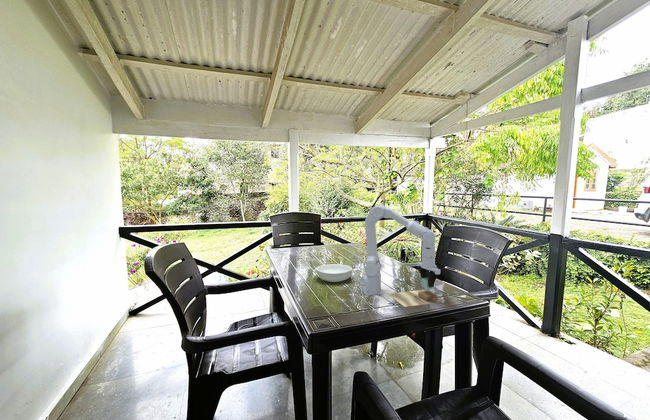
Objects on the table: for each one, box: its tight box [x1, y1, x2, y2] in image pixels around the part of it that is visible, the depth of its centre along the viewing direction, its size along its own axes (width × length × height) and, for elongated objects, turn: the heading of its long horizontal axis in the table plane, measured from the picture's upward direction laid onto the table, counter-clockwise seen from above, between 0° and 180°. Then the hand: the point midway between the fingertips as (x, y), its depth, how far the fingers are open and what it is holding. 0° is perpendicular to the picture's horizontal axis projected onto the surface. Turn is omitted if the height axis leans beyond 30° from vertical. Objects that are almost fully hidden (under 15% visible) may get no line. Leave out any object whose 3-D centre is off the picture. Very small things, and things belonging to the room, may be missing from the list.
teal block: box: [421, 278, 436, 290], centre depth 126 cm, size 4×4×4 cm
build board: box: [387, 289, 445, 308], centre depth 128 cm, size 20×16×1 cm
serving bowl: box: [315, 263, 353, 283], centre depth 158 cm, size 21×21×7 cm
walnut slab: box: [418, 290, 439, 302], centre depth 127 cm, size 6×6×2 cm
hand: (428, 285), depth 126 cm, fingers closed on teal block, 4 cm apart
